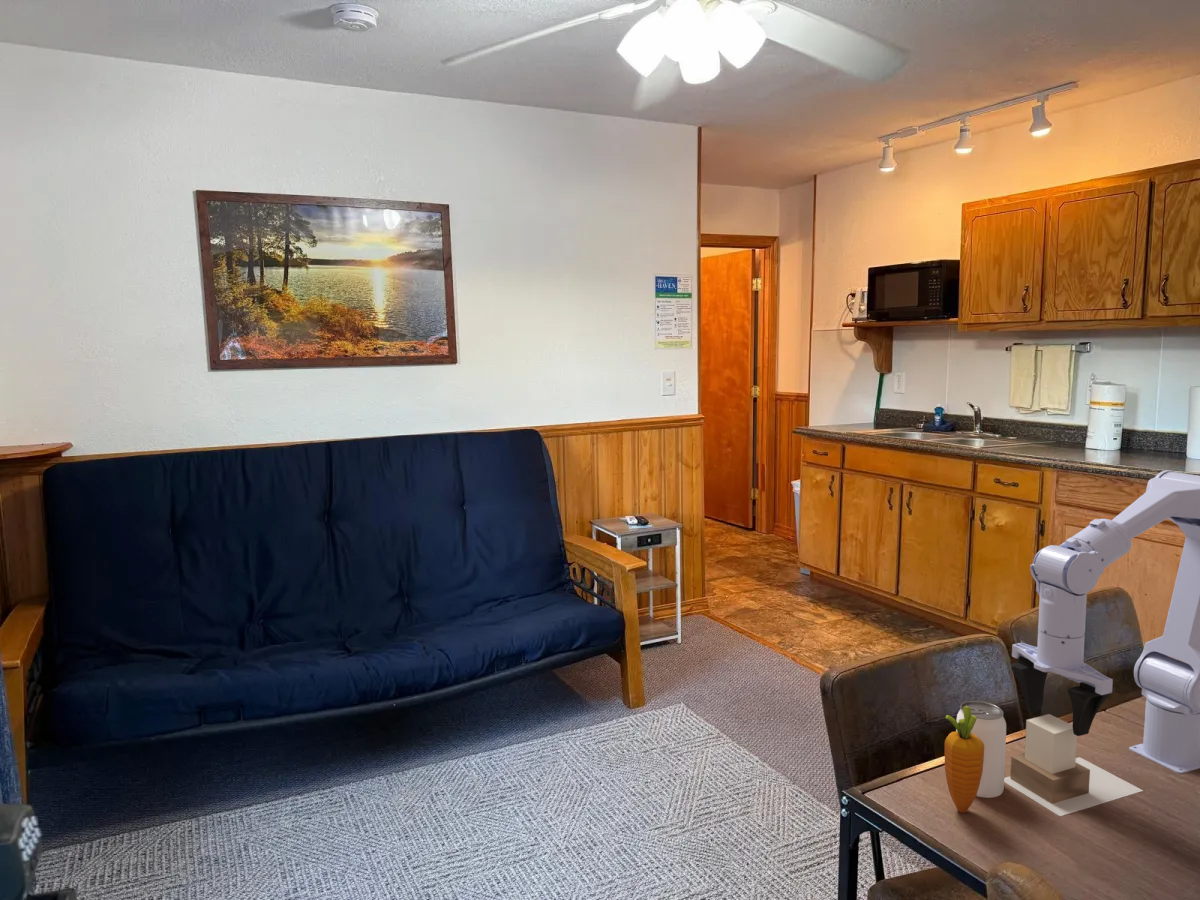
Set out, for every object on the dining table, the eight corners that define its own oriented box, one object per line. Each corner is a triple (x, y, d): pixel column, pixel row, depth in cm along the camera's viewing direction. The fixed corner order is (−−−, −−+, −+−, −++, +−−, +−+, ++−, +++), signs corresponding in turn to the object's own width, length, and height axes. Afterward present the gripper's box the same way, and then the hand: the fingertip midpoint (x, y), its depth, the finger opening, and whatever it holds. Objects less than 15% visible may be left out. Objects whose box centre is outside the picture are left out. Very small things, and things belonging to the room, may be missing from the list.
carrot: (965, 828, 106) (969, 722, 104) (934, 809, 110) (937, 707, 108) (990, 817, 108) (994, 713, 106) (958, 799, 113) (962, 699, 111)
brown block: (1045, 768, 119) (1047, 746, 119) (1088, 792, 113) (1090, 769, 112) (1010, 778, 117) (1011, 756, 116) (1051, 803, 110) (1053, 780, 110)
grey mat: (1079, 759, 122) (1079, 757, 122) (1143, 793, 113) (1143, 790, 113) (999, 781, 117) (999, 779, 117) (1059, 818, 108) (1059, 816, 107)
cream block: (1047, 752, 117) (1049, 713, 116) (1075, 767, 113) (1077, 727, 112) (1024, 758, 116) (1026, 720, 115) (1052, 774, 111) (1054, 733, 111)
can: (1009, 802, 112) (1012, 721, 110) (960, 798, 113) (963, 718, 111) (996, 777, 118) (999, 701, 116) (949, 773, 119) (952, 698, 118)
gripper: (997, 619, 118) (994, 706, 119) (1087, 654, 104) (1082, 751, 106) (1033, 612, 120) (1029, 697, 122) (1125, 645, 106) (1120, 740, 108)
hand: (1056, 721), depth 114 cm, fingers open, 7 cm apart
